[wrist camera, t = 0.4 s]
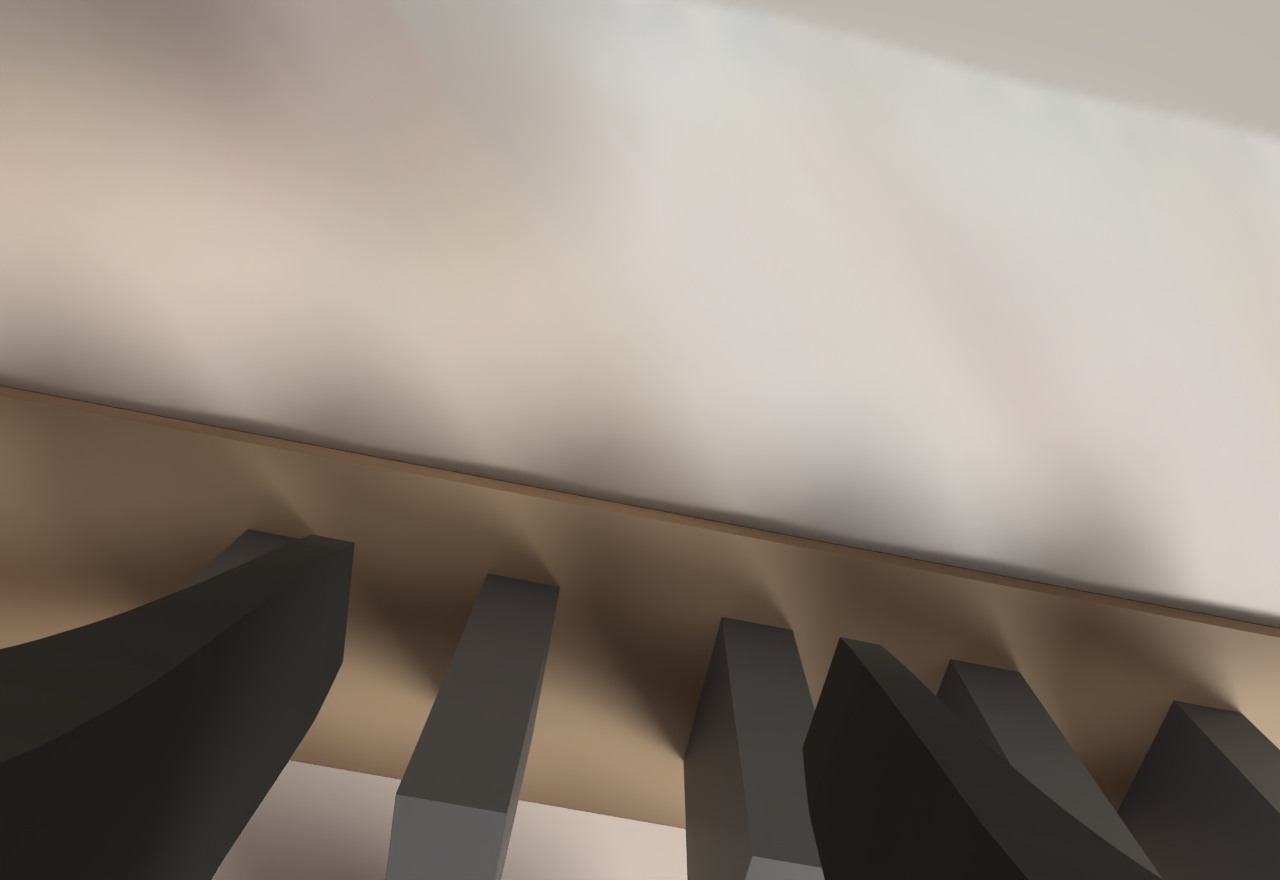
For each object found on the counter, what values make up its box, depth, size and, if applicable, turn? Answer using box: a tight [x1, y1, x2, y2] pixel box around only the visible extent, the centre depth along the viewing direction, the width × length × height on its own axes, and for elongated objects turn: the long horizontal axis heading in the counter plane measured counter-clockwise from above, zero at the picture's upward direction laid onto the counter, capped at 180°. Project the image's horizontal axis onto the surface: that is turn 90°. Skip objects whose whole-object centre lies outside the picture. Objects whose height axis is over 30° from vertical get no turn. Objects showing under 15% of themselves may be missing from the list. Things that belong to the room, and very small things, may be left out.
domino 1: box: [386, 574, 560, 880], centre depth 19 cm, size 2×5×8 cm, turn 169°
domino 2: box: [683, 617, 825, 880], centre depth 19 cm, size 2×5×8 cm, turn 169°
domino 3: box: [936, 659, 1162, 879], centre depth 20 cm, size 2×5×8 cm, turn 169°
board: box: [0, 386, 1280, 829], centre depth 23 cm, size 10×38×1 cm, turn 79°
